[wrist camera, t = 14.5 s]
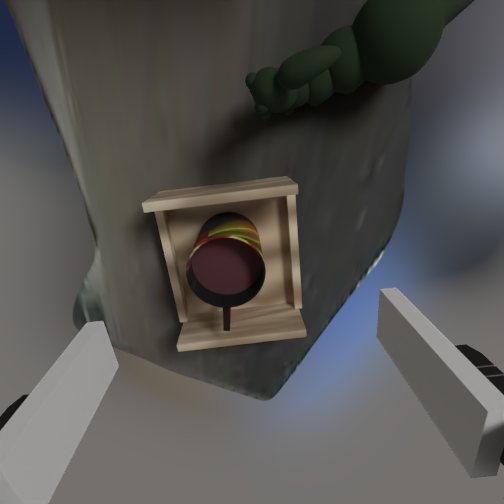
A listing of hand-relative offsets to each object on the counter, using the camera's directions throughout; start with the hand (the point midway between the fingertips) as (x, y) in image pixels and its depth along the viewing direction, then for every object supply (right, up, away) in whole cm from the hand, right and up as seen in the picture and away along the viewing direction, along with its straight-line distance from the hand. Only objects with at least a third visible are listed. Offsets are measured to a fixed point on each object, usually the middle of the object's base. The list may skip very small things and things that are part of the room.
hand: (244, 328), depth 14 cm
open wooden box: (-3, +4, +35) cm, 35 cm away
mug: (-2, +4, +34) cm, 34 cm away
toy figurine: (+11, +28, +26) cm, 40 cm away
